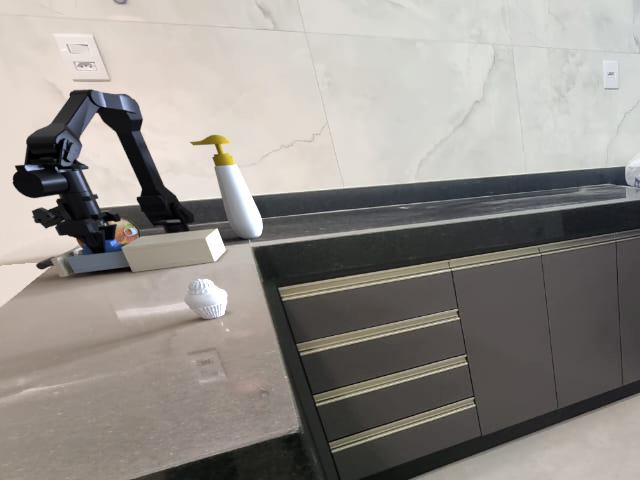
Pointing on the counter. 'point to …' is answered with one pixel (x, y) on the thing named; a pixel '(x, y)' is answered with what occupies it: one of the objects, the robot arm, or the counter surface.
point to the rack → (84, 262)
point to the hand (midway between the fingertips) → (106, 257)
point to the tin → (122, 232)
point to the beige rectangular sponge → (174, 250)
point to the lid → (109, 244)
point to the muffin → (206, 299)
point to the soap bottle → (234, 192)
